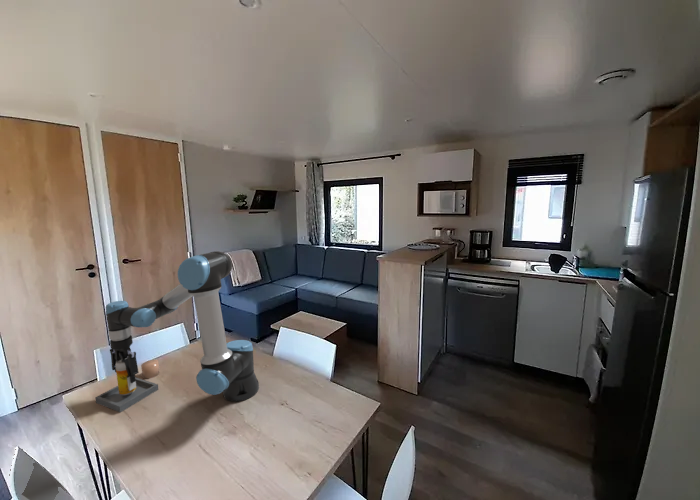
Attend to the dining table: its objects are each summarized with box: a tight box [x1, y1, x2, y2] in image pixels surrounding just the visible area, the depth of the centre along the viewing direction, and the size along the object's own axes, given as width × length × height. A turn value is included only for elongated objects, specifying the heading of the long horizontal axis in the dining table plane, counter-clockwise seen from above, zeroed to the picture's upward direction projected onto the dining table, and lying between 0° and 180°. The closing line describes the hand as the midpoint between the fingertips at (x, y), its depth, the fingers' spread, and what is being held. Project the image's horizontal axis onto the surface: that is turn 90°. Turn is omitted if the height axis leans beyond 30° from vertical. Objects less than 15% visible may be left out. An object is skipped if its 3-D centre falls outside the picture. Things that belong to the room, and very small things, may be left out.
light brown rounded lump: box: [140, 359, 160, 380], centre depth 145 cm, size 7×7×6 cm
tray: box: [95, 376, 160, 413], centre depth 129 cm, size 16×16×3 cm
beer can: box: [115, 358, 136, 395], centre depth 127 cm, size 6×6×15 cm
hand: (127, 386), depth 128 cm, fingers open, 6 cm apart
